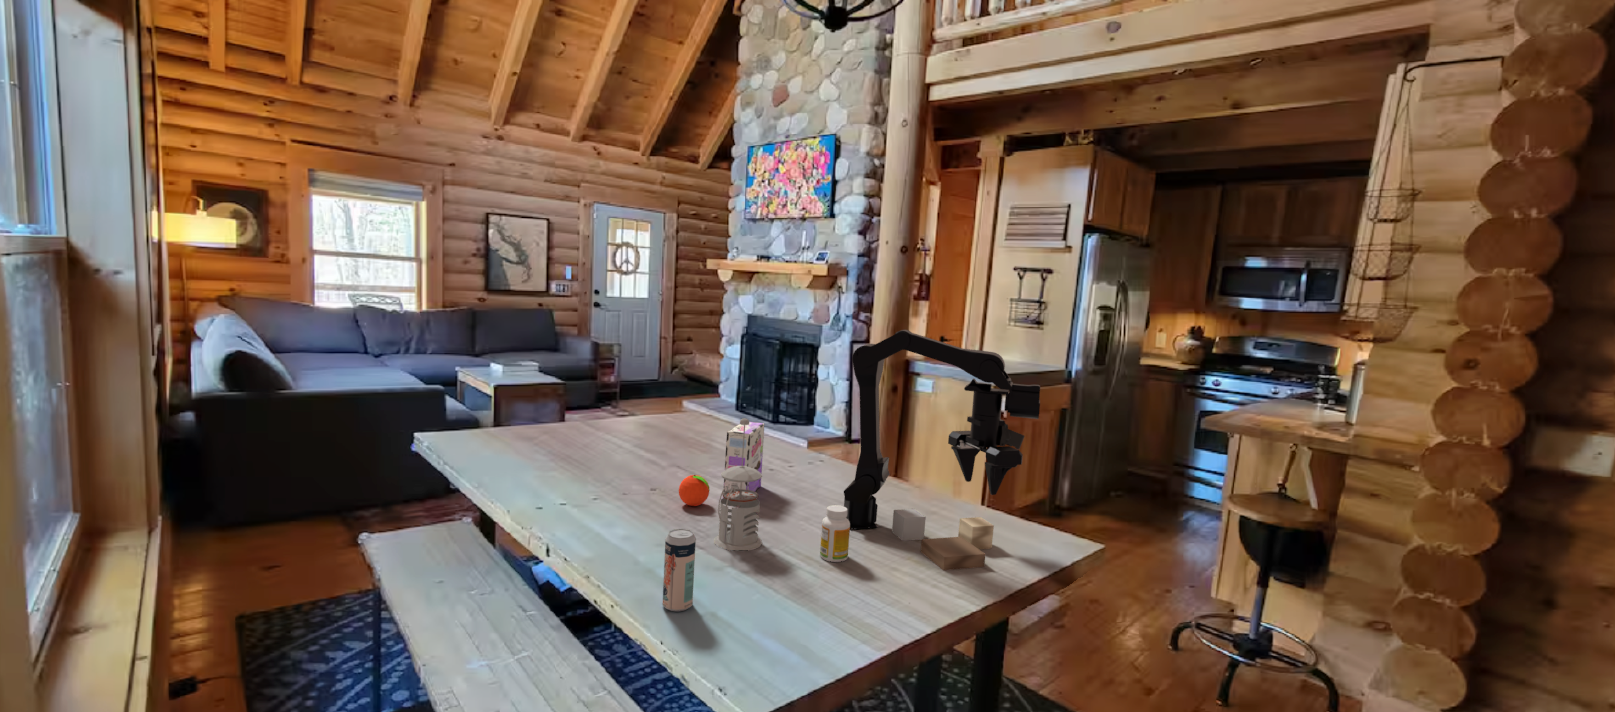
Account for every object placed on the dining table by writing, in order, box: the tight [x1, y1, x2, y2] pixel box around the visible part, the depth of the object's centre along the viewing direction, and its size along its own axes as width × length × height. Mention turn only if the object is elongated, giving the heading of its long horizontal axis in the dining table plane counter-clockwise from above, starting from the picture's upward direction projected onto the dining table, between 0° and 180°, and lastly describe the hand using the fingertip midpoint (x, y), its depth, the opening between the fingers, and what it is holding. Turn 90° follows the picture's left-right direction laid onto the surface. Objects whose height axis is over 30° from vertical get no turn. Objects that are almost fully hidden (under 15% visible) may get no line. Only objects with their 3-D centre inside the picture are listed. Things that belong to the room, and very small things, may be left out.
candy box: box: [722, 421, 765, 499], centre depth 169 cm, size 14×6×16 cm, turn 168°
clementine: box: [678, 474, 710, 507], centre depth 157 cm, size 8×7×7 cm
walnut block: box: [919, 536, 986, 571], centre depth 137 cm, size 9×9×3 cm
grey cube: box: [891, 508, 927, 542], centre depth 148 cm, size 5×5×5 cm
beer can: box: [662, 528, 697, 613], centre depth 110 cm, size 5×5×12 cm
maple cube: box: [957, 516, 995, 550], centre depth 145 cm, size 5×5×5 cm
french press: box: [713, 418, 763, 551], centre depth 136 cm, size 10×12×25 cm
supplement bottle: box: [819, 504, 851, 563], centre depth 133 cm, size 5×5×10 cm
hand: (980, 487), depth 144 cm, fingers open, 9 cm apart
